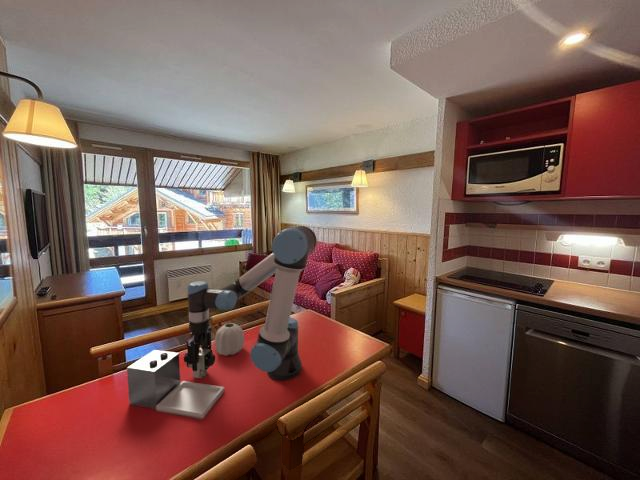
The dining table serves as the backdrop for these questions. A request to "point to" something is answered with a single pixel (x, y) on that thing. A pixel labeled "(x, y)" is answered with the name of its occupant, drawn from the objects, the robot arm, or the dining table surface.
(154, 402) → the control box
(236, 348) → the vase
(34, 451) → the dining table surface
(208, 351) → the pneumatic valve
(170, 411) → the parts tray
